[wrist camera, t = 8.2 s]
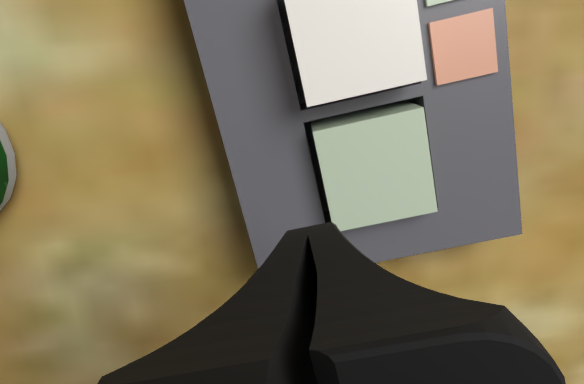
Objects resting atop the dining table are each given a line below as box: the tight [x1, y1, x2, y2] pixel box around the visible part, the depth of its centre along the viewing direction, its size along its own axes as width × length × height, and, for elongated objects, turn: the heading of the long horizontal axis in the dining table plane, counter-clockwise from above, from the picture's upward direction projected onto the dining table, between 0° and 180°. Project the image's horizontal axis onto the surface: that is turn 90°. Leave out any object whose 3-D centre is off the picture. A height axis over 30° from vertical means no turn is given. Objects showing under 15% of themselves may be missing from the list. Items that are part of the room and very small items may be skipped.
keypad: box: [184, 0, 522, 269], centre depth 18 cm, size 20×12×3 cm, turn 13°
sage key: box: [311, 100, 438, 231], centre depth 19 cm, size 4×4×4 cm
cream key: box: [284, 0, 427, 107], centre depth 17 cm, size 4×4×4 cm
